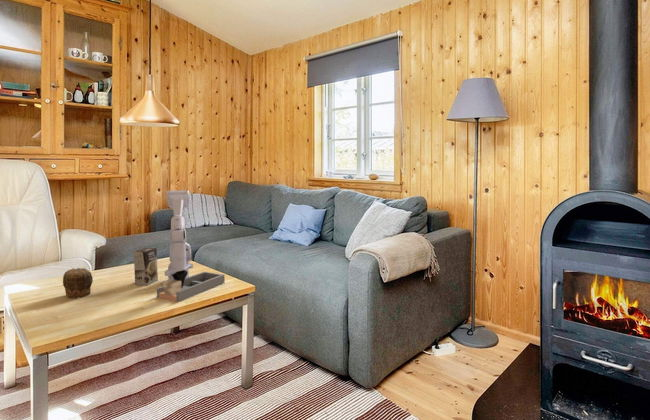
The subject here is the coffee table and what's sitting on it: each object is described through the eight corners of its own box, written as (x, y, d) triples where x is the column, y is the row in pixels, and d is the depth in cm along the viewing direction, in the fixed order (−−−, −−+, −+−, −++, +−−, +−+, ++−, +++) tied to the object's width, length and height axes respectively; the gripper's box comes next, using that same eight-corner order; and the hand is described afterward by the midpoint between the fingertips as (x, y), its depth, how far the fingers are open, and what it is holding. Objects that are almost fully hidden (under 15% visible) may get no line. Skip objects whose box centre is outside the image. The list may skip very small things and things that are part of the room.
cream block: (163, 293, 172) (163, 282, 171) (172, 290, 176) (172, 279, 175) (172, 295, 169) (172, 284, 169) (181, 292, 174) (181, 280, 173)
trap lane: (157, 297, 173) (156, 288, 173) (204, 279, 199) (204, 271, 199) (178, 301, 168) (178, 292, 167) (224, 282, 194) (224, 274, 194)
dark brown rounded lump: (62, 301, 167) (60, 273, 166) (65, 293, 177) (63, 266, 176) (93, 297, 172) (91, 270, 171) (94, 290, 182) (92, 264, 181)
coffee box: (146, 286, 188) (145, 252, 186) (134, 285, 190) (132, 251, 188) (158, 280, 197) (157, 247, 195) (146, 279, 199) (145, 247, 197)
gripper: (172, 262, 166) (174, 294, 168) (197, 254, 180) (198, 284, 181) (160, 260, 169) (161, 291, 171) (185, 253, 183) (186, 282, 184)
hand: (180, 287), depth 176 cm, fingers closed
